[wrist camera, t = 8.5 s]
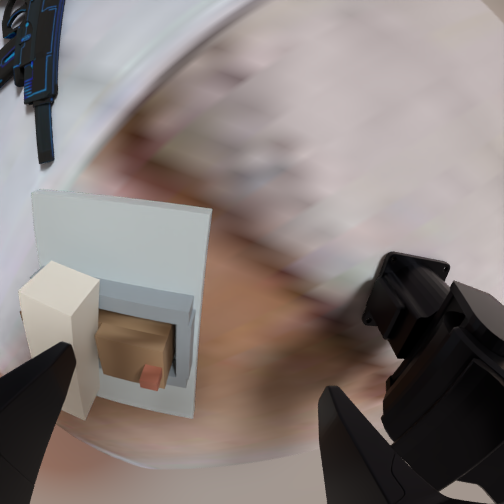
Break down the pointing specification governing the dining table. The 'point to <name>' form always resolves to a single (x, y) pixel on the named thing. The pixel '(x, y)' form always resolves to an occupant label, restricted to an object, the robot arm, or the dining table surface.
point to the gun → (34, 62)
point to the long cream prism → (65, 326)
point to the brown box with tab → (135, 348)
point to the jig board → (134, 274)
